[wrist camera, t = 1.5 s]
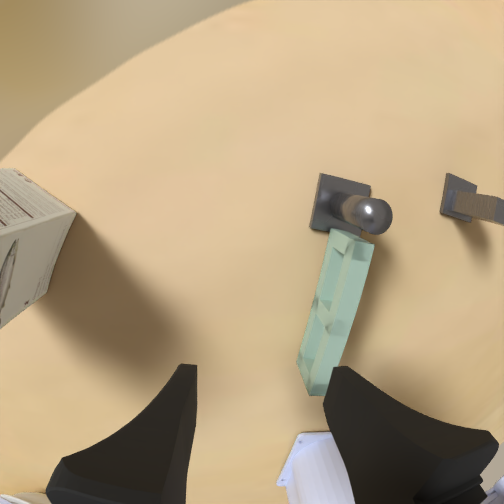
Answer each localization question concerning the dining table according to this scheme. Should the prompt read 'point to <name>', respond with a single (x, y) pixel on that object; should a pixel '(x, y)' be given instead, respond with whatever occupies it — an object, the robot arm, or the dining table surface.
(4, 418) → the dining table surface
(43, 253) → the supplement box
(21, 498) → the soup bowl
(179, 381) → the robot arm
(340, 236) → the gate
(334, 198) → the hinge post
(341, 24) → the dining table surface
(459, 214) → the post
